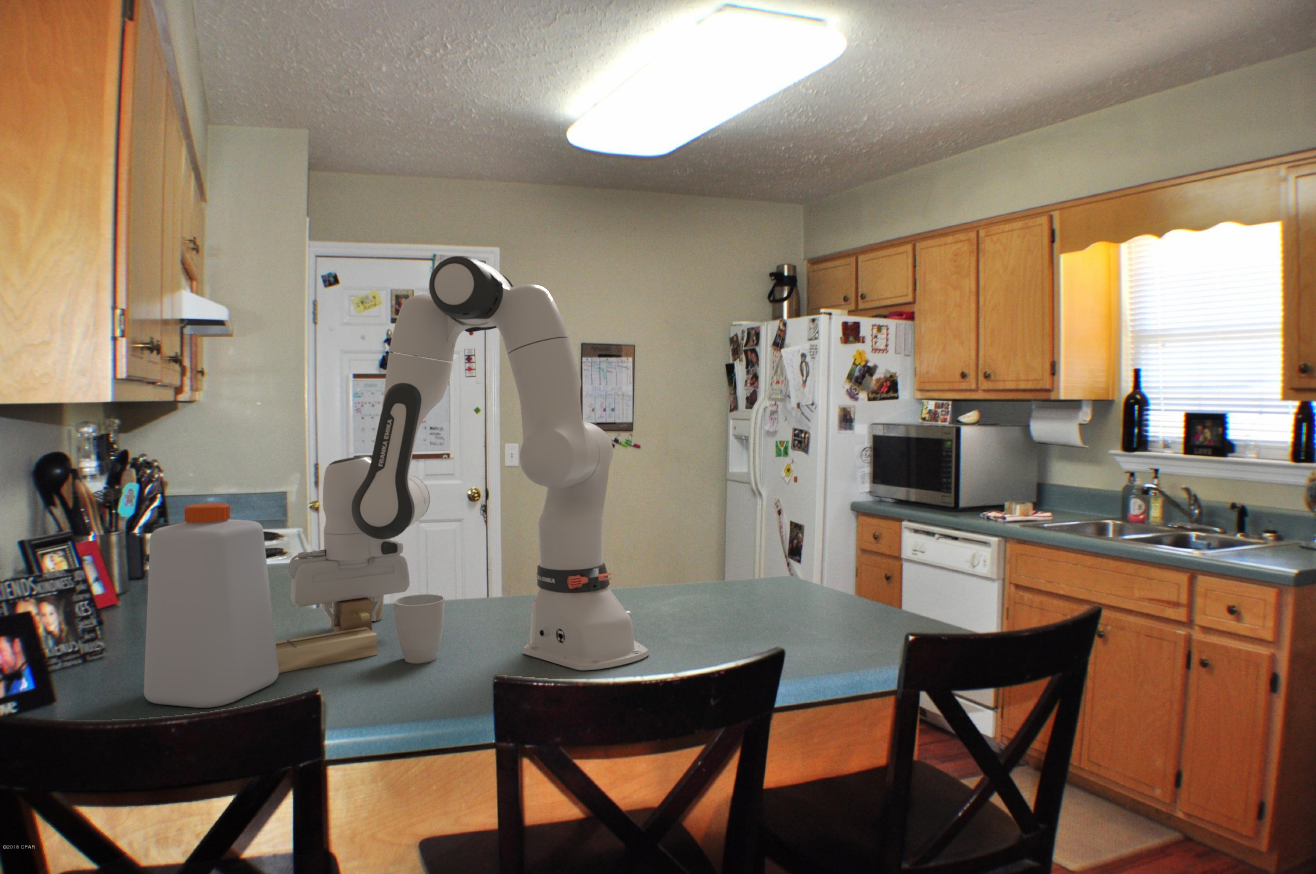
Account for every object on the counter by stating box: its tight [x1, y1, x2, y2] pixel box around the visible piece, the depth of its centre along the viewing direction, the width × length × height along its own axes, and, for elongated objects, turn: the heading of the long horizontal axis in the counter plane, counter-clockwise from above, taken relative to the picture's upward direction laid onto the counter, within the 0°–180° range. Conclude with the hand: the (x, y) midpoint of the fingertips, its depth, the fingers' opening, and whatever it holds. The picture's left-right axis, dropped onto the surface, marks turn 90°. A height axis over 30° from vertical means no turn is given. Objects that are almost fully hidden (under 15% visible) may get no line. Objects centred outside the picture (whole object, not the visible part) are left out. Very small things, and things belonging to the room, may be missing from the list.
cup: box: [393, 593, 446, 664], centre depth 142 cm, size 8×8×10 cm
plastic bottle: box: [143, 502, 280, 709], centre depth 127 cm, size 15×15×28 cm
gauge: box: [332, 598, 373, 633], centre depth 151 cm, size 11×5×7 cm, turn 36°
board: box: [275, 627, 379, 674], centre depth 143 cm, size 6×16×4 cm, turn 126°
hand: (352, 623), depth 153 cm, fingers closed on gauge, 5 cm apart
